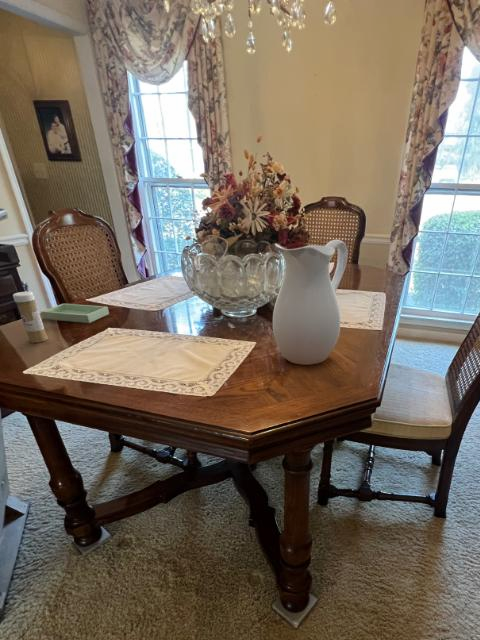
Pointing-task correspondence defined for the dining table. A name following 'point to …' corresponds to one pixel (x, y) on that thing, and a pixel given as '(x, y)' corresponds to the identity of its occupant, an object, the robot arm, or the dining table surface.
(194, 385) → the dining table surface
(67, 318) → the tray
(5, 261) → the robot arm
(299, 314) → the pitcher
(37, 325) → the sprinkles bottle
